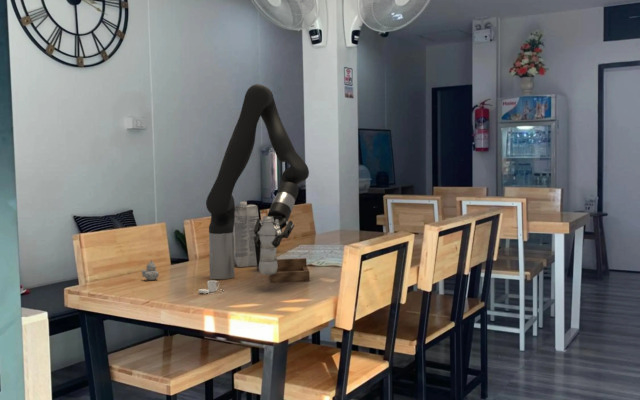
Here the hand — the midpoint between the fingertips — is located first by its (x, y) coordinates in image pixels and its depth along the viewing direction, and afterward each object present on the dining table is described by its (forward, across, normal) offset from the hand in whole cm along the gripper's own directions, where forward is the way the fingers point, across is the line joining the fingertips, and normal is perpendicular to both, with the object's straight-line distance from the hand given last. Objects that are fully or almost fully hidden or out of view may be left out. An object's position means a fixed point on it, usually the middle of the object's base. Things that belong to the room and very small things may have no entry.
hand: (266, 245), depth 217 cm
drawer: (-4, -2, +27) cm, 27 cm away
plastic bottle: (+6, 0, +9) cm, 11 cm away
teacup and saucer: (+17, -20, +6) cm, 27 cm away
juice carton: (-19, -32, +42) cm, 56 cm away
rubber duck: (+10, -51, +14) cm, 54 cm away
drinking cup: (-13, -20, +36) cm, 43 cm away
